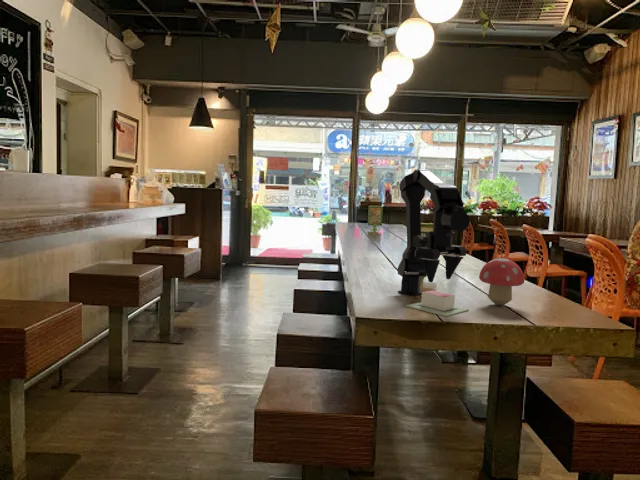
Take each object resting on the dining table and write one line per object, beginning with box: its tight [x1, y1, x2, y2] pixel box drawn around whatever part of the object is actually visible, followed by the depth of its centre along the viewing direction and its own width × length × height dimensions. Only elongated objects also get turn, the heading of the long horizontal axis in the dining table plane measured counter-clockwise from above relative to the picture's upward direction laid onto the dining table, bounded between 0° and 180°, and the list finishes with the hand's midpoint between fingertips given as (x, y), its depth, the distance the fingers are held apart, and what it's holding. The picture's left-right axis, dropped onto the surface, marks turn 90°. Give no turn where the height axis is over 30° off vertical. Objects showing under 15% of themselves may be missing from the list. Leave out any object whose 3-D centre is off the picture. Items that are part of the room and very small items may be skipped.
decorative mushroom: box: [478, 257, 525, 306], centre depth 157 cm, size 13×13×15 cm
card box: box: [420, 289, 456, 311], centre depth 149 cm, size 8×5×4 cm, turn 44°
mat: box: [406, 301, 470, 317], centre depth 149 cm, size 12×14×1 cm
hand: (439, 280), depth 148 cm, fingers open, 9 cm apart
